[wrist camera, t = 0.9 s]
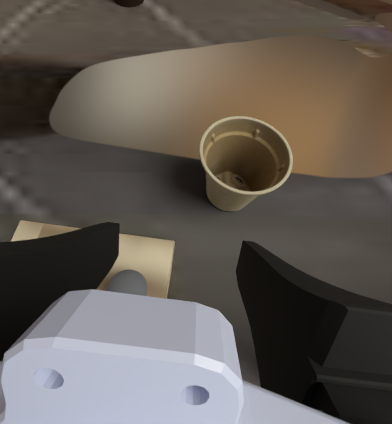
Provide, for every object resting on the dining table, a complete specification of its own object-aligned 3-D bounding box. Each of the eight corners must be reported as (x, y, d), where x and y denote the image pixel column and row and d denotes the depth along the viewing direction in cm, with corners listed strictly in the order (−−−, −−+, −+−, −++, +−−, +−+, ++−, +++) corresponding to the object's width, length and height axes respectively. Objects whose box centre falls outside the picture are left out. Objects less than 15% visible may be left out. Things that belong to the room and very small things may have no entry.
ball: (145, 311, 19) (138, 316, 16) (108, 306, 19) (93, 310, 16) (152, 273, 21) (147, 270, 17) (118, 268, 21) (106, 264, 17)
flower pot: (183, 208, 26) (184, 173, 18) (206, 154, 30) (216, 104, 22) (251, 233, 26) (283, 208, 18) (266, 175, 29) (299, 132, 21)
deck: (156, 362, 20) (153, 372, 18) (-16, 342, 20) (-41, 349, 17) (175, 245, 24) (174, 241, 22) (35, 226, 24) (20, 220, 22)
